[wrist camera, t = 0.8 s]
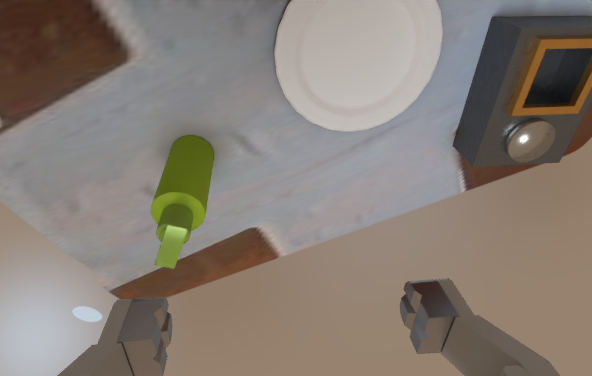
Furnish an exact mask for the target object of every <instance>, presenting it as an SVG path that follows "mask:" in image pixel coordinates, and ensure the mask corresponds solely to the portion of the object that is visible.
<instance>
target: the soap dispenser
mask: <svg viewBox="0 0 592 376" xmlns="http://www.w3.org/2000/svg"><path fill="white" fill-rule="evenodd" d="M213 160H214V151H213V149H212V147H211V145H210V144H209V143H208V142H207V141H206V140H204V139H203V138H201V137H198V136H192V135H189V136H183V137H181V138H179V139H177V140H176V141H175V142H174V144H173V145H172V148H171V151H170V154H169V157H168V159H167V162H166V165H165V168H164V171H163V174H162V177H161V180H160V183H159V185H158V188H157V191H156V194H155V197H154V200H153V203H152V206H151V215H152V217H153V219H154V220H155V222H156V223H157V224H158V227H157V231H156V235H157V237H158V239H159V240H160V241H161V242H162V243H161V246H160V249H159V252H158V255H157V258H156V262H155V265H157V266H162V267H168V268H173V269H174V267H175V265H176V262H177V259H178V257H179V254H180V251H181V248H182V245H183V244H184V243H186V242H187V241H188V239H189V237H190V233H191V230H194V229H196V228H197V227H199V226H200V225H201V224H202V223H203V221H204V219H205V214H206V207H207V200H208V193H209V187H210V180H211V173H212V167H213Z"/></svg>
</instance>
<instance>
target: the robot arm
mask: <svg viewBox="0 0 592 376" xmlns="http://www.w3.org/2000/svg"><path fill="white" fill-rule="evenodd" d="M404 291H405V293H406V294H405V295H404V296H403V297H402V298H401V303H400V313H401V317H402V320H403V322H404V325H405V326H406V327H408V328H409V329H410V330H411V334H410V338H411V341H412V343H413V345H414V348H415V350H416V352H417V354H424V353H441V352H442V355H443V356H444V357H445V358H446V359H447V360H449V362H451V363H452V364H453V365H454V366H455V367H456V368H457V369H458V370H459V371H460V372H461V373H462V374H463V375H465V376H560V375H559V374H558V372H557V371H556V370H555V369H554V367H553V366H552V364H551V363H550V362H549V361H548V360H546V359H545V358H543V357H542V356H540V355H539V354H537V353H536V352H534V351H533V350H531V349H530V348H528V347H527V346H525V345H524V344H522V343H520V342H519V341H517V340H516V339H514V338H513V337H511V336H510V335H508V334H507V333H505V332H504V331H502V330H500V329H499V328H497V327H496V326H494V325H493V324H491V323H490V322H488V321H487V320H485V319H484V318H482V317H480V316H479V315H474V314H473V312H472V311H471V309H470V308H469V306H468V305H467V303H466V302H465V300H464V299H463V297H462V295H461V294H460V292H459V291H458V289H457V288H456V286H455V285H454V283H453V282H452V280H450V279H449V278H448V279H435V280H433V279H432V280H420V281H408V282H407V283H406V284H405V286H404ZM167 310H168V301H167V298H141V299H123V300H117V301H116V302H115V303H114V305H113V307H112V310H111V312H110V314H109V317H108V319H107V322H106V324H105V327H104V329H103V332H102V334H101V337H100V339H99V341H98V344H97V345H92V346H91V347H90V348H88V349H87V350H86V351H85V352H84V353H83V354H82V355H80V356H79V357H78V358H77V359H76V360H75V361H74V362H73V363H71V364H70V365H69V366H68V367H67V368H66V369H65V370H63V371H62V372H61V373H60V374H59V375H58V376H163V374H164V370H165V365H166V360H167V353H166V347H167V346H168V345H169V344H170V341H171V336H172V318H171V314H170V313H168V312H167Z"/></svg>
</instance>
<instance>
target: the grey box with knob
mask: <svg viewBox="0 0 592 376" xmlns="http://www.w3.org/2000/svg"><path fill="white" fill-rule="evenodd" d="M591 100H592V16H529V17H492V19H491V22H490V26H489V29H488V32H487V35H486V39H485V42H484V45H483V48H482V52H481V55H480V58H479V62H478V65H477V68H476V71H475V75H474V78H473V81H472V84H471V88H470V91H469V94H468V97H467V101H466V104H465V107H464V110H463V114H462V117H461V120H460V124H459V127H458V130H457V133H456V137H455V140H454V143H453V146H454V147H455V149H456V150H457V151H458V152H459V153H460V154H461V155H462V156H463V157H464V158H465V159H466V160H467V161H468V162H469V164H470V165H471V166H472V167H478V166H498V165H518V164H537V163H557V162H560V160H561V158H562V156H563V154H564V152H565V150H566V148H567V146H568V145H569V143H570V141H571V139H572V137H573V135H574V133H575V131H576V129H577V127H578V125H579V123H580V122H581V120H582V118H583V116H584V114H585V112H586V110H587V108H588V106H589V104H590V102H591Z"/></svg>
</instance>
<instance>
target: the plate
mask: <svg viewBox="0 0 592 376" xmlns="http://www.w3.org/2000/svg"><path fill="white" fill-rule="evenodd" d="M442 39H443V28H442V17H441V10H440V8H439V5H438V2H437V0H291V1H290V2H289V4H288V5H287V8H286V10H285V13H284V15H283V17H282V20H281V22H280V25H279V27H278V31H277V38H276V44H275V51H274V55H275V64H276V74H277V77H278V80H279V83H280V85H281V88H282V90H283V93H284V95H285V97H286V98H287V99H288V101H289V102H290V103H291V105H292V106H293V107H294V109H295V110H296V111H297V112H298V113H300V114H301V115H302V116H303V117H305V118H306V119H307V120H309V121H310V122H311V123H314V124H316V125H319V126H321V127H324V128H326V129H329V130H337V131H345V132H350V131H359V130H367V129H369V128H372V127H375V126H378V125H381V124H383V123H386V122H387V121H389V120H391V119H392V118H394V117H395V116H397V115H399V114H400V113H402V112H403V111H404V110H405V109H406V108H407V107H408V106H409V105H410V104H412V103H413V102H414V101H415V100H416V99H417V98H418V97H419V95H420V94H421V92H422V91H423V89H424V88H425V86H426V85H427V84H428V82H429V81H430V79H431V77H432V75H433V72H434V70H435V67H436V65H437V62H438V60H439V57H440V51H441V45H442Z"/></svg>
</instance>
